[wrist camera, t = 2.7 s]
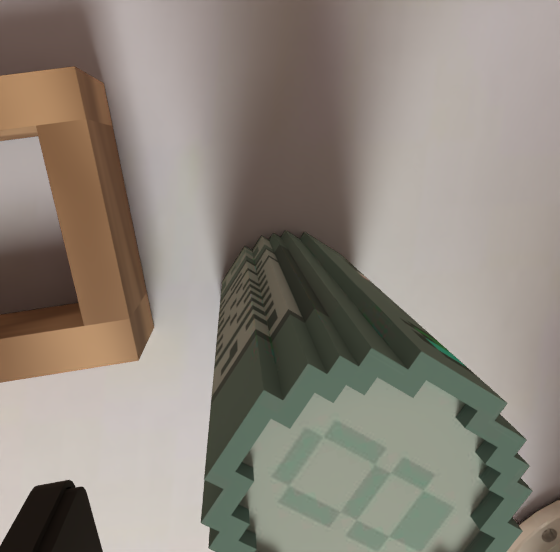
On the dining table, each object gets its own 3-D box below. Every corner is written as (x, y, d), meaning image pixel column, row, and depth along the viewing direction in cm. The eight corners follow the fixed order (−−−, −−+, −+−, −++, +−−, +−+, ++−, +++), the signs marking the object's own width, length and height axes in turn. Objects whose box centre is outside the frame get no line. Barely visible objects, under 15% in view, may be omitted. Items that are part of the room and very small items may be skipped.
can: (305, 376, 25) (405, 677, 11) (200, 317, 24) (148, 564, 9) (374, 275, 24) (586, 451, 10) (268, 208, 23) (327, 293, 8)
